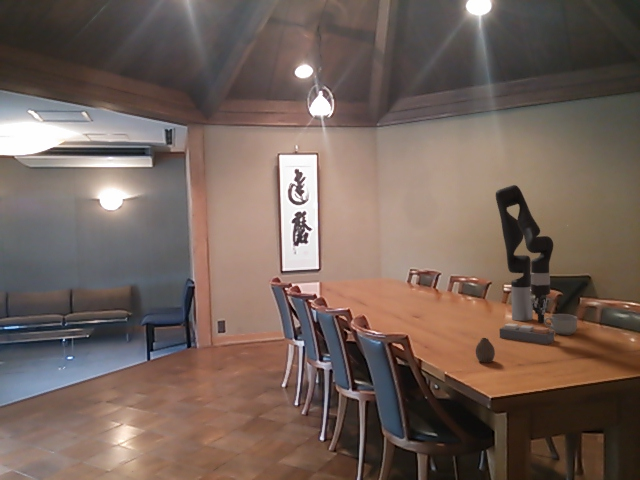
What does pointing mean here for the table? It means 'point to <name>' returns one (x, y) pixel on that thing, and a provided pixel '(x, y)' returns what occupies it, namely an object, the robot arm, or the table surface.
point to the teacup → (562, 323)
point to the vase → (485, 351)
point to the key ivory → (511, 326)
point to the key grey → (526, 328)
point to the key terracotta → (541, 330)
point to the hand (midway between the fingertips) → (541, 323)
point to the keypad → (527, 336)
